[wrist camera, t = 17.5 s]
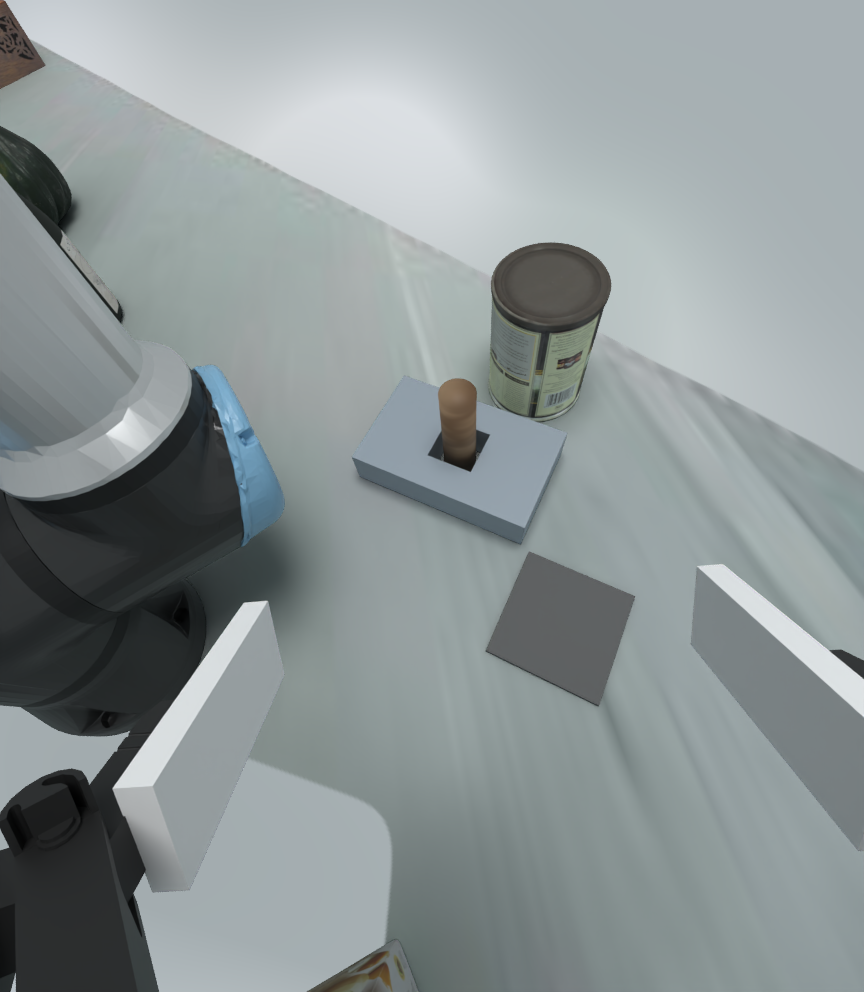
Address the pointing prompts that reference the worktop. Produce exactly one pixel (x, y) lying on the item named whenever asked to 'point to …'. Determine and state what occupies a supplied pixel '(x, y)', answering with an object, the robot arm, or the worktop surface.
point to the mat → (562, 627)
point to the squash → (33, 175)
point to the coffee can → (544, 327)
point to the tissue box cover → (15, 49)
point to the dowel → (458, 422)
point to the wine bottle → (76, 258)
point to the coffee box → (374, 973)
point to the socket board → (466, 495)
